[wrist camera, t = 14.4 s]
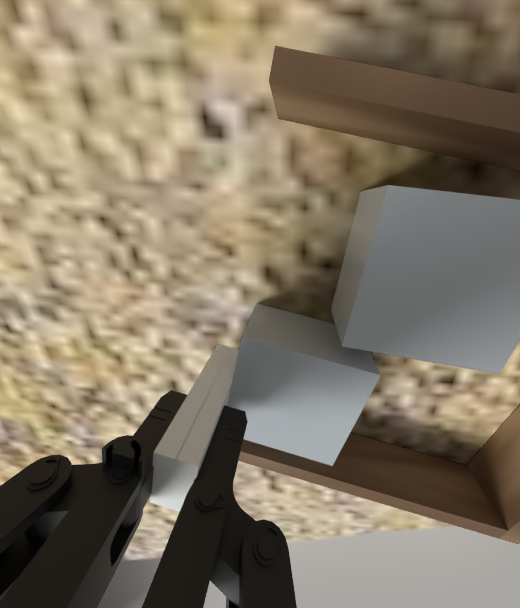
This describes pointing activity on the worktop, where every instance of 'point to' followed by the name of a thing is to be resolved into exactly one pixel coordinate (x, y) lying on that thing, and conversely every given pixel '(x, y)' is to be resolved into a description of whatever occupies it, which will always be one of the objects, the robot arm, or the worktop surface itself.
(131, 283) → the worktop surface
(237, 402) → the tile
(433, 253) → the light grey square block
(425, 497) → the frame
